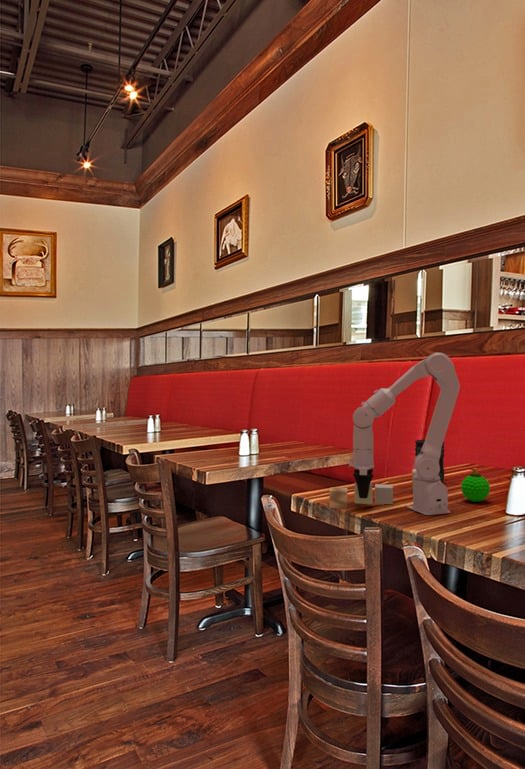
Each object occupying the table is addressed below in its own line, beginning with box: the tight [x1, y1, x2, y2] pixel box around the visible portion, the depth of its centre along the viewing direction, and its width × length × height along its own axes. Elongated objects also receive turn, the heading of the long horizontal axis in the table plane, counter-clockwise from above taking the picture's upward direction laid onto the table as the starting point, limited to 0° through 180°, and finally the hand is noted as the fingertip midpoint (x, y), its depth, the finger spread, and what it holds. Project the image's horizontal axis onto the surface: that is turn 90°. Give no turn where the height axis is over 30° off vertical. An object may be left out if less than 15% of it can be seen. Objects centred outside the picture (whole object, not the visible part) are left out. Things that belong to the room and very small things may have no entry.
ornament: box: [460, 467, 491, 503], centre depth 162 cm, size 8×8×10 cm
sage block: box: [353, 481, 373, 505], centre depth 156 cm, size 5×5×5 cm
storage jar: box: [414, 439, 445, 485], centre depth 190 cm, size 10×10×15 cm
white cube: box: [374, 483, 394, 505], centre depth 162 cm, size 5×5×5 cm
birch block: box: [328, 487, 349, 510], centre depth 157 cm, size 5×5×5 cm
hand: (363, 495), depth 156 cm, fingers closed on sage block, 5 cm apart
